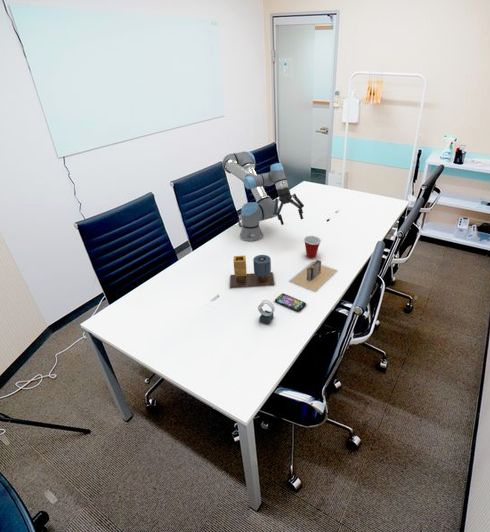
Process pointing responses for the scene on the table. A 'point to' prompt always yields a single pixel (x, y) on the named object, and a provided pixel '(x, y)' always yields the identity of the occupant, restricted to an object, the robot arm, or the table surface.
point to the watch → (266, 312)
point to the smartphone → (290, 302)
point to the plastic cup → (312, 245)
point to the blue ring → (262, 265)
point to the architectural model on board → (313, 276)
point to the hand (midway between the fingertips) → (292, 221)
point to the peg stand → (251, 279)
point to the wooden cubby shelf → (240, 266)
